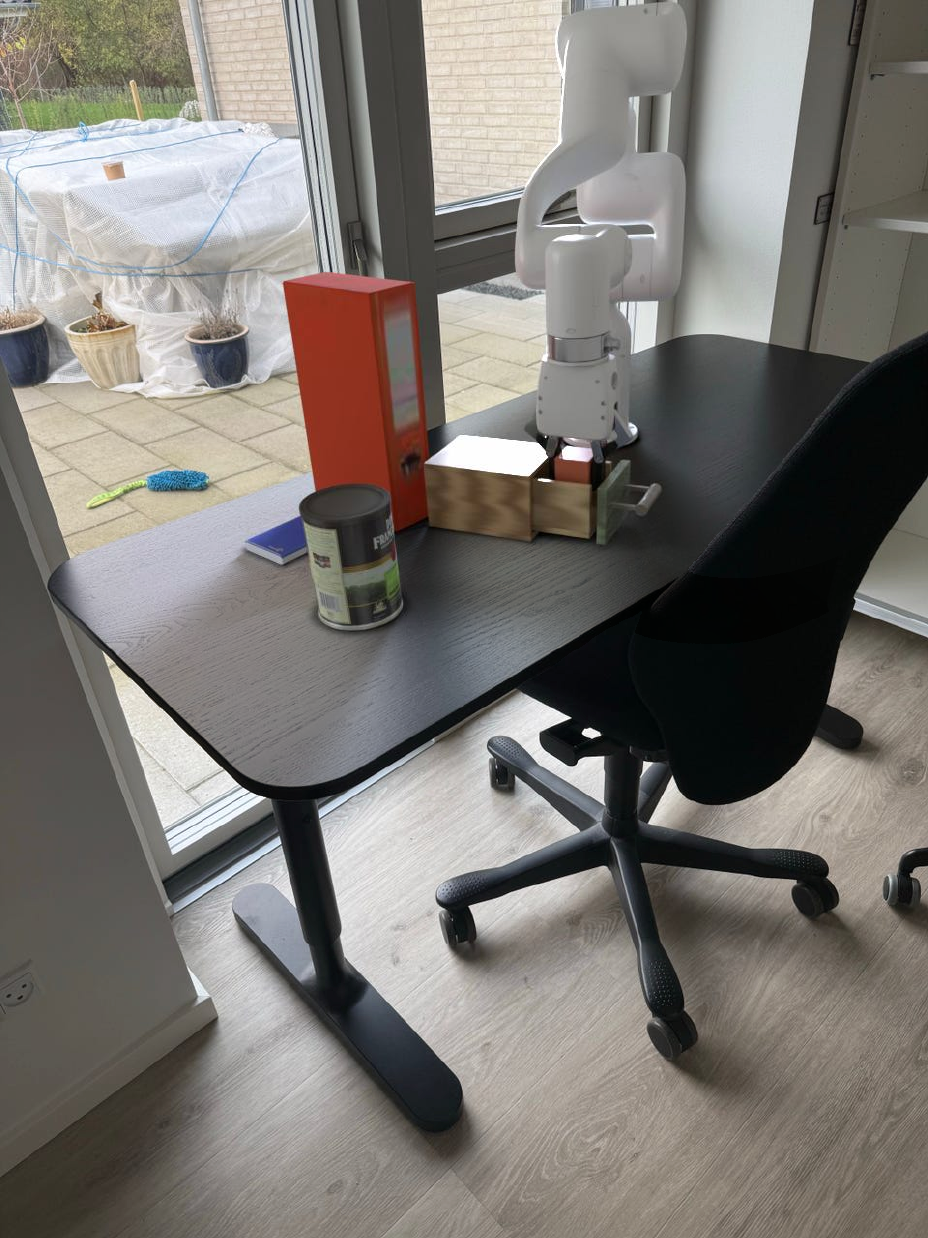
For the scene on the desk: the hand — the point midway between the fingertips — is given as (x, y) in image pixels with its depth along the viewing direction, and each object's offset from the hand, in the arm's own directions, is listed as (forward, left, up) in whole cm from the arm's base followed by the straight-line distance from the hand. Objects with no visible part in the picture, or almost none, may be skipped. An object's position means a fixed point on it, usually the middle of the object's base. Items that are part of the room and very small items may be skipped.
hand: (577, 483), depth 116 cm
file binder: (+3, -30, -7) cm, 31 cm away
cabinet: (0, -12, -7) cm, 14 cm away
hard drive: (+16, -35, -7) cm, 39 cm away
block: (0, 0, 0) cm, 0 cm away
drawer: (0, +1, -6) cm, 6 cm away
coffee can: (+29, -17, -7) cm, 34 cm away
